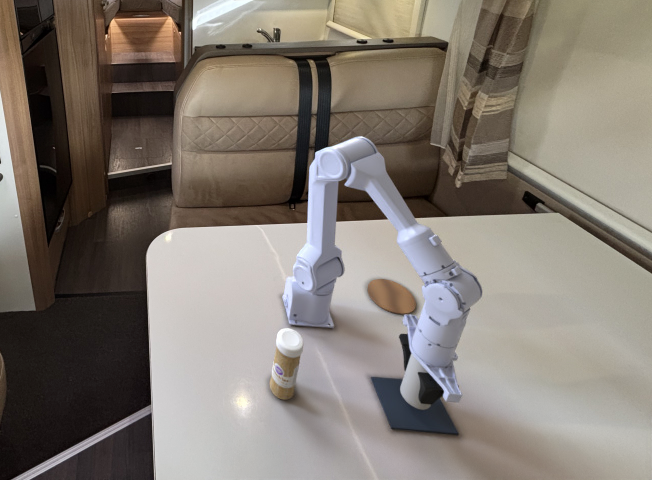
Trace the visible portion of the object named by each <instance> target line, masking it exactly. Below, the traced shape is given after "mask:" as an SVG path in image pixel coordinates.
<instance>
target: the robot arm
mask: <svg viewBox="0 0 652 480" xmlns="http://www.w3.org/2000/svg"><path fill="white" fill-rule="evenodd" d="M308 172H309V173H308V194H307V196H308V197H307V200H308V201H307V220H306V221H307V222H306V223H307V225H306V242H305V244H304V245H303V246H302V248H301V249H300V250H299V252H298V253H297V255H296V261H295V263H294V264H293V265H292V273H293V275H292V276H287V277H286V278H285V284H284V291H283V294H282V301H283V304H284V309H285V312H286V316H287V320H288V323H289V325H291V326H299V327H313V328H327V329H334V328H335V324H334V321H333V319H332V316H331V313H330V308H331V304H332V298H333V294H334V289H335V283H337V279H338V278H341V277H342V276H343V275H344V274H345V271H346V268H345V264H344V261H343V255H342V253H343V251H342V249H341V248H340V247H338V245H336V233H337V232H336V230H337V229H336V228H337V216H338V215H337V214H338V213H337V211H338V196H339V182H341V181H343V180H346V182H345V183H344V186H345V187H348V188H351V189H355V190H359V191H363V192H366V193H367V194H368V196H369V197H370V198H371V199H372V200H373V202H374V204H376V206H377V207H378V208H379V209H380V211H381V212H382V214H384V216H385V217H386V219H387V220H388V221H389V222H390V224H391V225H392V226H393V227H394V229H395V230H396V231H397V236H396V244H397V245H398V247H399V248H400V250H401V252H402V253H403V254H404V256H405V257H406V259H407V260H408V262H409V263H410V264H411V266H412V268H413V269H414V271H415V272H416V274H417V275H418V276H419V278H420V279H421V281H422V282H423V284H424V285H421V293H422V296H423V299H424V303H423V306H422V308H421V311H420V315H419V318H418V316H417V315H416V314H404V315H403V318H402V323H403V326H405V327H406V329H407V332H406V333H400V334H398V340H399V342H400V345H401V349H402V358H403V370H404V373H405V372H406V369H407V365H408V362H409V359H410V356H411V353H412V354H413V356H414V357H415V358H416V359H417V361H418V362H419V363H420V364H421V365H422V366H423V367H424V368H425V369H426V371H427V372H428V373H425V372H418V376H419V379H420V390H419V395H418V398H419V401H420V403H421V404H430V405H432V404H434V403H435V402H436V401H437V400H438V399H439V398H440V399H441V398H442V397H443V399H444V401H445V402H446V403H452V404H454V403H455V404H460V402H461V400H462V397H463V394H462V391H461V389H460V385H459V383H458V379H457V374H456V369H455V365H454V362H456V361H458V358H459V356H458V354H457V353H456V350H457V346H458V344H459V342H460V339H461V337H462V334H463V333H464V329H465V327H466V324H467V320H468V316H469V314H470V311H471V307H473V306H474V305H475V304H477V303H478V302H479V301H480V300H481V298H482V297H483V287H482V284H481V282H480V281H479V280H478V277H477V276H476V275H475V274H474V273H473V272H472V271H470V270H468V269H467V268H465V267H463V266H462V265H461V264H460V263H459V262H458V261H456V260H455V259H453V258H452V256H451V255H450V253H449V252H448V251H447V249H446V247H445V246H444V245H443V243H442V239H441V238H440V236H439V235H438V234H435V232H434V231H433V229H432V228H431V227H429V226H427V225H424V224H421V223H419V222H418V221H417V219H416V218H415V216H414V215H413V213H412V211H411V210H410V208H409V207H408V205H407V203H406V202H405V200H404V198H403V196H402V195H401V193H400V191H399V190H398V189H397V186H395V184H394V182H393V180H392V179H391V177H390V176H389V174H388V172H387V169H386V161H385V157H384V156H383V155H382V154H381V152H379V150H378V148H377V146H376V145H375V143H374V142H373V141H372V140H370V139H369V138H368V137H365V136H355V137H352V138H350V139H347V140H345V141H342V142H340V143H337V144H335V145H332V146H327V147H324V148H322V149H320V150H317V151H316V152H314V159H313V161H312V162H311V164H310V165H309V170H308Z"/></svg>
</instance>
